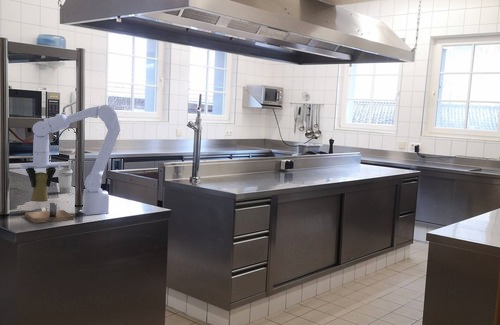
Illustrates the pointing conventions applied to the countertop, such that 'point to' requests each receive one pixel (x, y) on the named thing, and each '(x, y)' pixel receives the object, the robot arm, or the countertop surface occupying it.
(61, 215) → the board
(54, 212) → the steel dowel
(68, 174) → the cup
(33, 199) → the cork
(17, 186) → the countertop surface
